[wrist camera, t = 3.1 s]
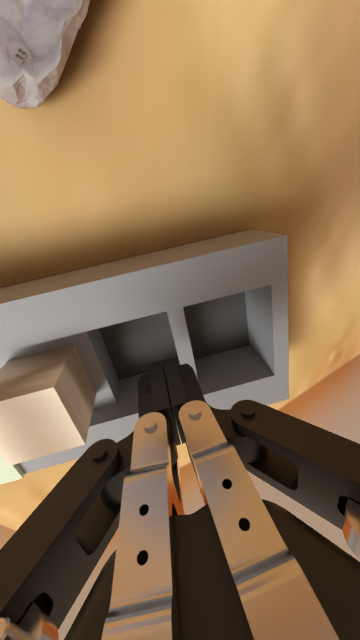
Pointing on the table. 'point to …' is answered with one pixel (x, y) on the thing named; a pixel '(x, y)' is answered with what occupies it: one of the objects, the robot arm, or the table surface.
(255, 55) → the table surface
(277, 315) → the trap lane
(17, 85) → the stone block
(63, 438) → the cube
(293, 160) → the table surface
